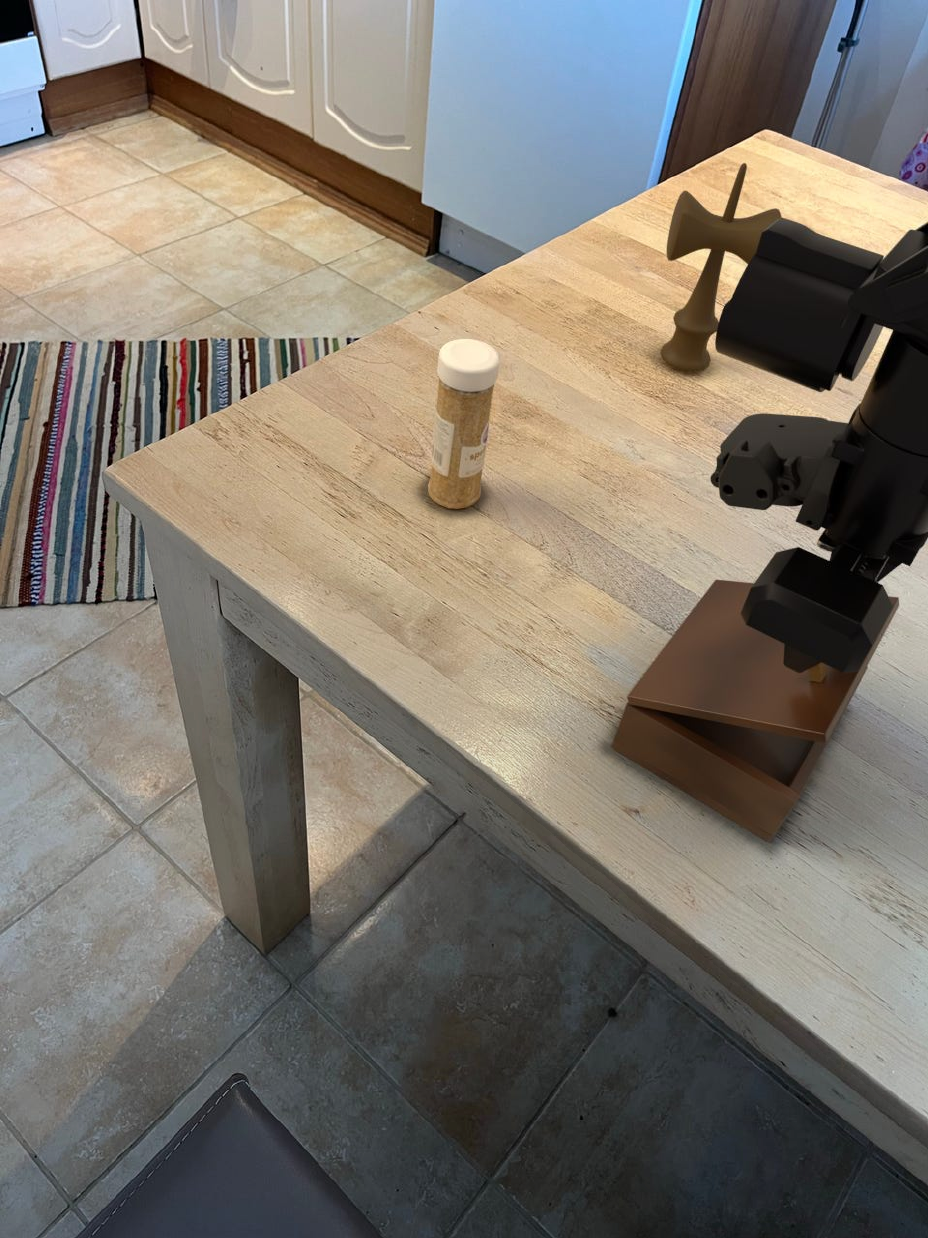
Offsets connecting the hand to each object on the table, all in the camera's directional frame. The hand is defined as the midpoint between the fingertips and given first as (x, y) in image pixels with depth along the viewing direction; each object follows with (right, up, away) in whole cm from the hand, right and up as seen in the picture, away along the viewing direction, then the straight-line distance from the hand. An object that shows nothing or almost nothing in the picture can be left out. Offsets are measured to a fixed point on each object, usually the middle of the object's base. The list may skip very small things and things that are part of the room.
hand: (810, 638), depth 57 cm
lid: (-2, -1, +3) cm, 4 cm away
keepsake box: (-3, -6, +8) cm, 11 cm away
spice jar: (-22, +12, +23) cm, 34 cm away
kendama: (+2, +27, +40) cm, 49 cm away
